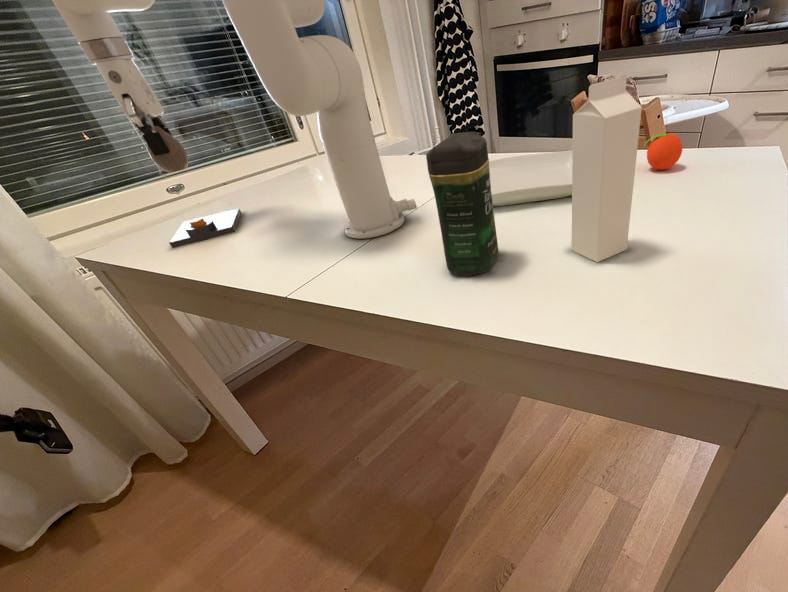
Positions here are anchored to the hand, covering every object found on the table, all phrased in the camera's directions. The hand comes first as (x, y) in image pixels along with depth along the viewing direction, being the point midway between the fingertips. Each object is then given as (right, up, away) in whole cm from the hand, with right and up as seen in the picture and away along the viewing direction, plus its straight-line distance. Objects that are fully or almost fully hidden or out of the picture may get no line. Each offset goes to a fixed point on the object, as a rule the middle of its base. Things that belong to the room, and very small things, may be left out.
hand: (166, 150), depth 89 cm
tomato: (+111, -6, -3) cm, 111 cm away
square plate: (+82, -8, 0) cm, 82 cm away
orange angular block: (+5, -16, +4) cm, 17 cm away
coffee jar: (+70, -32, -25) cm, 81 cm away
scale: (+3, -15, +10) cm, 18 cm away
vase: (+1, -3, +3) cm, 4 cm away
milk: (+90, -30, -27) cm, 99 cm away
